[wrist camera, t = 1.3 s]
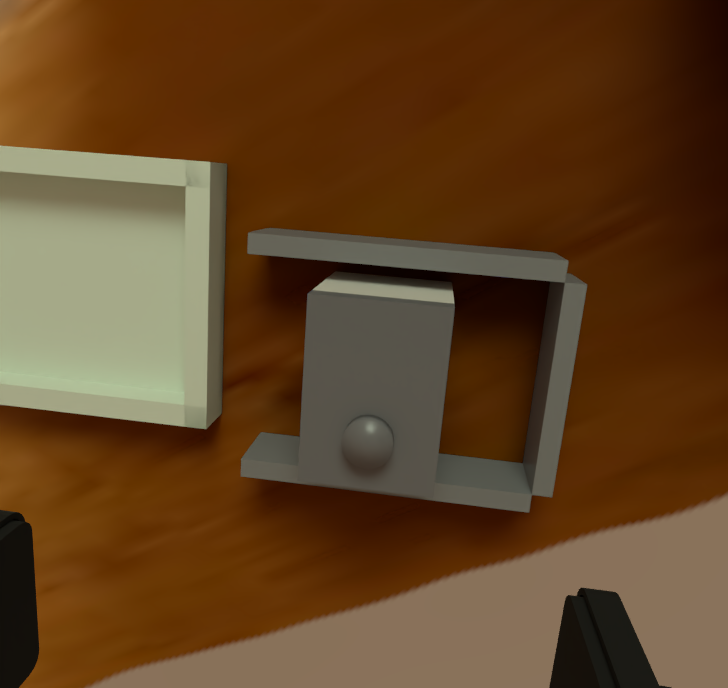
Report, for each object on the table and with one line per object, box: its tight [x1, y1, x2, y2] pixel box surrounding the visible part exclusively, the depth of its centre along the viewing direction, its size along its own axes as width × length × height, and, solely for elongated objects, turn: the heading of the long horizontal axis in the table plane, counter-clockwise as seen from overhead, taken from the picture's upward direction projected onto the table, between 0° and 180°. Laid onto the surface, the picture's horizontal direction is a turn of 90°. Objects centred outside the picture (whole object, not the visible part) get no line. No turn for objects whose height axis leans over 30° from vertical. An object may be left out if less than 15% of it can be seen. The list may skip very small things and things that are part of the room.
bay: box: [241, 228, 587, 513], centre depth 26 cm, size 13×10×3 cm
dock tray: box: [0, 146, 227, 429], centre depth 28 cm, size 13×11×2 cm
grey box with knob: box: [297, 271, 455, 498], centre depth 25 cm, size 5×7×7 cm
